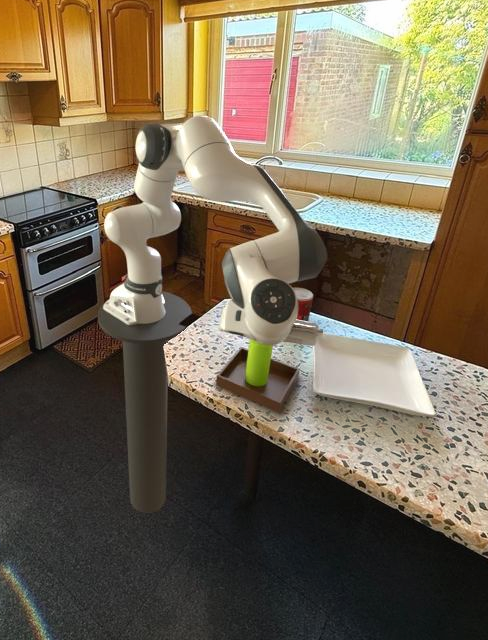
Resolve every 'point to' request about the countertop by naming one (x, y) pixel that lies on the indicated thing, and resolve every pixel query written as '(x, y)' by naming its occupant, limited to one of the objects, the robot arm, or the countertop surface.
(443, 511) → the countertop surface
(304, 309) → the canned food
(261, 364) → the soap dispenser
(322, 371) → the square plate
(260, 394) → the tray
